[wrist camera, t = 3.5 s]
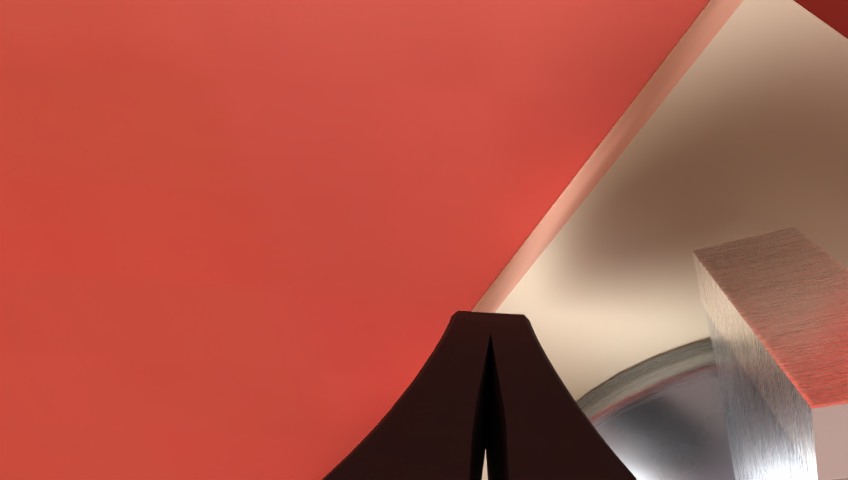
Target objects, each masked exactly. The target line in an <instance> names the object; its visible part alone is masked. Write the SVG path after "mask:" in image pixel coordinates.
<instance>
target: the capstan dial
mask: <svg viewBox="0 0 848 480" xmlns="http://www.w3.org/2000/svg"><path fill="white" fill-rule="evenodd" d="M692 254H693V260H694V266H695V271H696V277H697V283H698V288H699V294H700V300H701V304H702V306H703V307H704V309H705V310H706V314H707V320H708V325H709V331H710V337H711V340H709V341H705V342H701V343H697V344H692V345H690V346H687V347H684V348H681V349H678V350H675V351H673V352H670V353H667V354H664V355H661V356H658V357H656V358H653V359H651V360H649V361H646V362H644V363H642V364H640V365H638V366H636V367H634V368H632V369H630V370H627V371H625V372H623V373H621V374H619V375H617V376H615V377H614V378H612V379H610V380H609V381H607V382H606V383H604V384H602V385H601V386H599V387H598V388H596V389H594V390H593V391H591V392H589V393H588V394H586V395H585V396H584V397H582V398H581V399H580V400H579V401H577V402H576V403H577V404H578V406H579V407H580V408H581V410H582V411H583V413H584V414H585V415H586V417H587V418H588V419H589V421H590V422H591V423H592V425H593V426H594V427H595V429H596V430H597V431H598V433H599V434H600V435H601V437H602V438H603V439H604V440H605V442H606V443H607V444H608V445H609V447H610V448H611V449H612V450H613V452H614V453H615V454H616V455H617V456H618V458H619V459H620V460H621V461H622V462H623V463H624V465H625V466H626V467H627V468H628V469H629V470H630V471H631V473H632V474H633V475H634V476H635V477H636V478H637V479H638V480H848V269H847V268H846V267H845V266H843V265H842V264H841V263H840V262H838V261H837V260H836V259H834V258H833V257H832V256H831V255H829V254H828V253H827V252H826V251H824V250H823V249H822V248H820V247H819V246H818V245H817V244H815V243H814V242H813V241H812V240H810V239H809V238H808V237H807V236H805V235H804V234H803V233H801V232H800V231H799V230H798V229H796V228H795V227H794V226H793V227H789V228H785V229H781V230H776V231H772V232H768V233H764V234H760V235H755V236H751V237H747V238H743V239H739V240H734V241H730V242H726V243H722V244H718V245H713V246H709V247H705V248H701V249H697V250H692Z"/></svg>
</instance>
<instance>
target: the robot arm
mask: <svg viewBox="0 0 848 480" xmlns="http://www.w3.org/2000/svg"><path fill="white" fill-rule="evenodd" d="M485 450H486V461H487V475H488V480H638V479H637V478H636V477H635V476H634V475H633V474H632V473H631V471H630V470H629V469H628V468H627V467H626V466H625V465H624V463H623V462H622V461H621V460H620V459H619V458H618V456H617V455H616V454H615V453H614V452H613V450H612V449H611V448H610V447H609V445H608V444H607V443H606V442H605V440H604V439H603V438H602V437H601V435H600V434H599V433H598V431H597V430H596V429H595V427H594V426H593V425H592V423H591V422H590V421H589V419H588V418H587V417H586V415H585V414H584V413H583V411H582V410H581V408H580V407H579V406H578V404H577V403H576V401H575V400H574V398H573V397H572V395H571V394H570V392H569V391H568V389H567V388H566V386H565V385H564V383H563V381H562V380H561V378H560V377H559V375H558V374H557V372H556V371H555V369H554V367H553V366H552V364H551V362H550V360H549V359H548V357H547V355H546V353H545V352H544V350H543V348H542V346H541V344H540V342H539V340H538V338H537V336H536V334H535V332H534V330H533V328H532V325H531V323H530V320H529V319H528V318H527V317H526V316H525V315H524V314H506V313H487V312H468V311H457V312H456V313H455V314H454V315H452V317H451V320H450V322H449V324H448V326H447V328H446V330H445V332H444V334H443V336H442V338H441V339H440V341H439V343H438V344H437V346H436V348H435V349H434V351H433V353H432V354H431V356H430V357H429V359H428V360H427V362H426V363H425V364H424V366H423V367H422V369H421V370H420V372H419V373H418V375H417V376H416V378H415V379H414V380H413V382H412V383H411V384H410V386H409V387H408V388H407V389H406V391H405V392H404V393H403V394H402V396H401V397H400V398H399V399H398V401H397V402H396V403H395V405H394V406H393V407H392V408H391V410H390V411H389V412H388V413H387V414H386V416H385V417H384V418H383V419H382V420H381V421H380V422H379V423H378V425H377V426H376V427H375V428H374V429H373V430H372V431H371V432H370V433H369V434H368V436H367V437H366V438H365V439H364V440H363V441H362V442H361V443H360V444H359V445H358V446H357V447H356V448H355V449H354V450H353V451H352V452H351V453H350V454H349V455H348V456H347V457H346V458H345V459H344V460H343V461H342V462H340V463H339V464H338V465H337V466H336V467H335V468H334V469H333V470H332V471H331V472H330V473H329V474H328V475H327V476H325V477H324V478H323V479H322V480H482V474H483V466H484V458H485Z"/></svg>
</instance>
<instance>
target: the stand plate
mask: <svg viewBox="0 0 848 480" xmlns="http://www.w3.org/2000/svg"><path fill="white" fill-rule="evenodd" d="M793 226H794V227H795V228H796V229H798V230H799V231H800V232H801V233H803V234H804V235H805V236H807V237H808V238H809V239H810V240H812V241H813V242H814V243H815V244H817V245H818V246H819V247H820V248H822V249H823V250H824V251H826V252H827V253H828V254H829V255H831V256H832V257H833V258H834V259H836V260H837V261H838V262H840V263H841V264H842V265H843V266H845V267H846V268H847V269H848V39H847V38H846V37H844V36H843V35H841V34H840V33H838V32H837V31H836V30H834V29H833V28H831V27H830V26H829V25H827V24H826V23H824V22H823V21H822V20H820V19H819V18H817V17H816V16H815V15H813V14H812V13H810V12H809V11H808V10H806V9H805V8H803V7H802V6H801V5H799V4H798V3H796V2H795V1H794V0H710V2H709V3H708V4H707V6H706V7H705V8H704V9H703V11H702V12H701V13H700V15H699V16H698V17H697V19H696V20H695V21H694V22H693V24H692V25H691V26H690V28H689V29H688V30H687V32H686V33H685V34H684V35H683V37H682V38H681V39H680V41H679V42H678V43H677V45H676V46H675V47H674V48H673V50H672V51H671V52H670V54H669V55H668V56H667V58H666V59H665V60H664V61H663V63H662V64H661V65H660V67H659V68H658V69H657V71H656V72H655V73H654V74H653V76H652V77H651V78H650V80H649V81H648V82H647V84H646V85H645V86H644V88H643V89H642V90H641V91H640V93H639V94H638V95H637V97H636V98H635V99H634V101H633V102H632V103H631V104H630V106H629V107H628V108H627V110H626V111H625V112H624V114H623V115H622V116H621V117H620V119H619V120H618V121H617V123H616V124H615V125H614V127H613V128H612V129H611V130H610V132H609V133H608V134H607V136H606V137H605V138H604V140H603V141H602V142H601V143H600V145H599V146H598V147H597V149H596V150H595V151H594V153H593V154H592V155H591V156H590V158H589V159H588V160H587V162H586V163H585V164H584V166H583V167H582V168H581V169H580V171H579V172H578V173H577V175H576V176H575V177H574V179H573V180H572V181H571V182H570V184H569V185H568V186H567V188H566V189H565V190H564V192H563V193H562V194H561V195H560V197H559V198H558V199H557V201H556V202H555V203H554V205H553V206H552V207H551V208H550V210H549V211H548V212H547V214H546V215H545V216H544V218H543V219H542V220H541V221H540V223H539V224H538V225H537V227H536V228H535V229H534V231H533V232H532V233H531V235H530V236H529V237H528V238H527V240H526V241H525V242H524V244H523V245H522V246H521V248H520V249H519V250H518V251H517V253H516V254H515V255H514V257H513V258H512V259H511V261H510V262H509V263H508V264H507V266H506V267H505V268H504V270H503V271H502V272H501V274H500V275H499V276H498V277H497V279H496V280H495V281H494V283H493V284H492V285H491V287H490V288H489V289H488V290H487V292H486V293H485V294H484V296H483V297H482V298H481V300H480V301H479V302H478V303H477V305H476V306H475V307H474V309H473V310H472V311H471V312H487V313H506V314H524V315H525V316H526V317H527V318H528V319H529V320H530V323H531V325H532V328H533V330H534V332H535V334H536V336H537V338H538V340H539V342H540V344H541V346H542V348H543V350H544V352H545V353H546V355H547V357H548V359H549V360H550V362H551V364H552V366H553V367H554V369H555V371H556V372H557V374H558V375H559V377H560V378H561V380H562V381H563V383H564V385H565V386H566V388H567V389H568V391H569V392H570V394H571V395H572V397H573V398H574V400H575V401H576V402H577V401H579V400H580V399H581V398H582V397H584V396H585V395H586V394H588V393H589V392H591V391H593V390H594V389H596V388H598V387H599V386H601V385H602V384H604V383H606V382H607V381H609V380H610V379H612V378H614V377H615V376H617V375H619V374H621V373H623V372H625V371H627V370H630V369H632V368H634V367H636V366H638V365H640V364H642V363H644V362H646V361H649V360H651V359H653V358H656V357H658V356H661V355H664V354H667V353H670V352H673V351H675V350H678V349H681V348H684V347H687V346H690V345H692V344H697V343H701V342H705V341H709V340H711V337H710V331H709V325H708V320H707V314H706V310H705V309H704V307H703V306H702V304H701V300H700V294H699V288H698V283H697V277H696V271H695V266H694V260H693V254H692V250H697V249H701V248H705V247H709V246H713V245H718V244H722V243H726V242H730V241H734V240H739V239H743V238H747V237H751V236H755V235H760V234H764V233H768V232H772V231H776V230H781V229H785V228H789V227H793ZM482 480H488V475H487V461H486V450H485V458H484V466H483V474H482Z"/></svg>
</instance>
